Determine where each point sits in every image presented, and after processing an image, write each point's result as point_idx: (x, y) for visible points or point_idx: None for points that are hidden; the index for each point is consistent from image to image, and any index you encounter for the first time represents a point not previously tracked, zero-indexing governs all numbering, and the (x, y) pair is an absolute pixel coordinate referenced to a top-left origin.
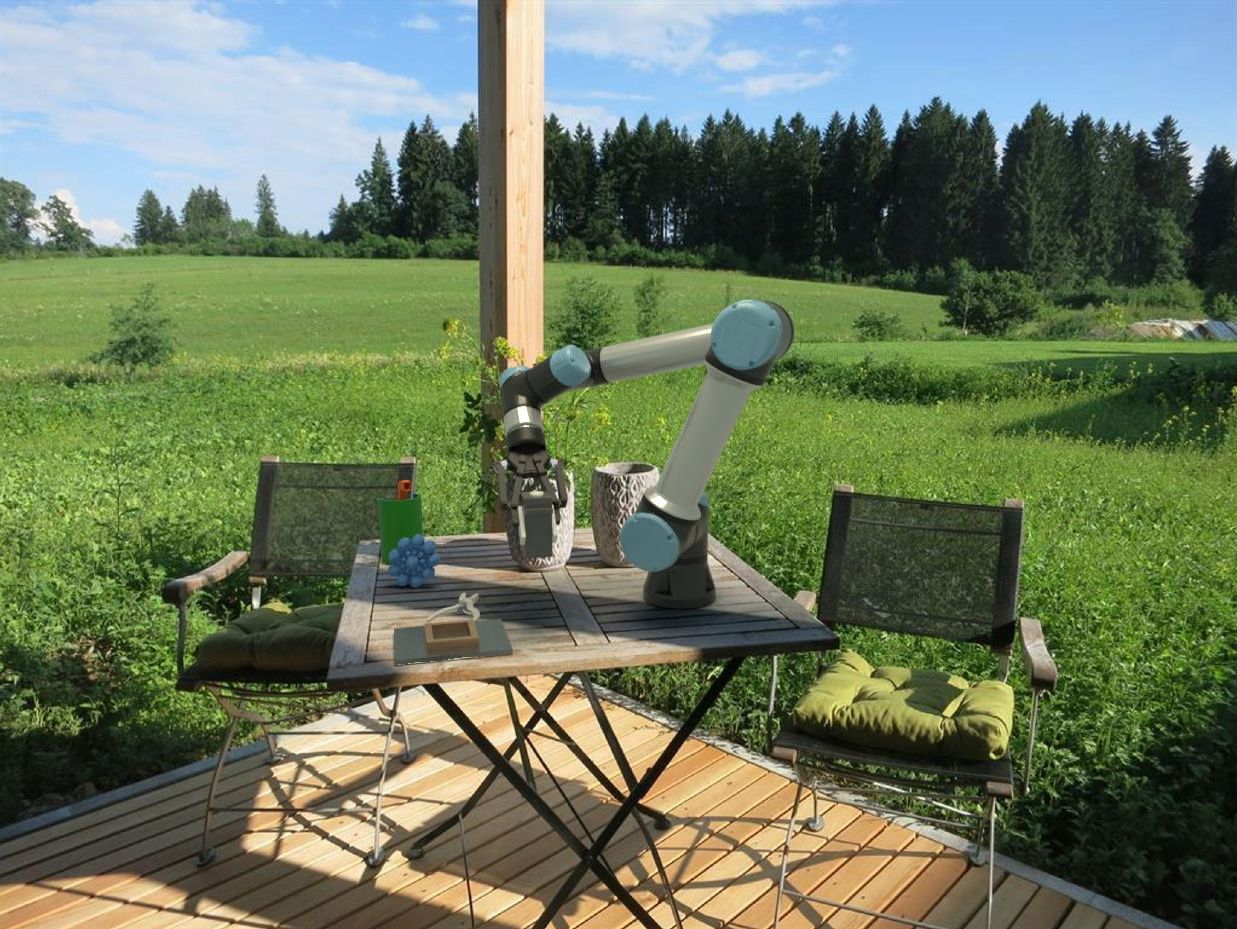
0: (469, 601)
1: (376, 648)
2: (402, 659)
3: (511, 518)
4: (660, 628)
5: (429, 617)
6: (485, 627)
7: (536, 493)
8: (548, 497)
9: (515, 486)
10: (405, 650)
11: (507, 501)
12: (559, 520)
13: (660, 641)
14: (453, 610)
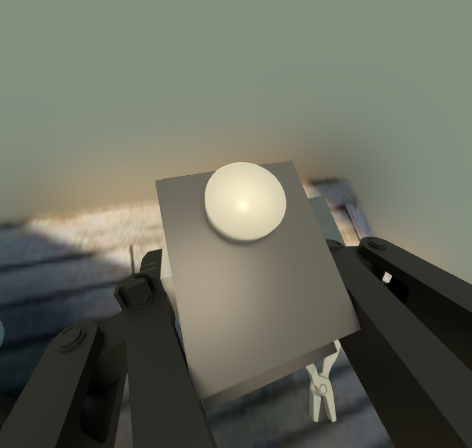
0: (314, 374)
1: (350, 234)
2: (318, 197)
3: None
4: (51, 295)
5: None
6: None
7: (244, 169)
8: (175, 186)
9: (424, 333)
10: (323, 215)
11: (364, 246)
12: (150, 251)
13: (65, 248)
14: None
